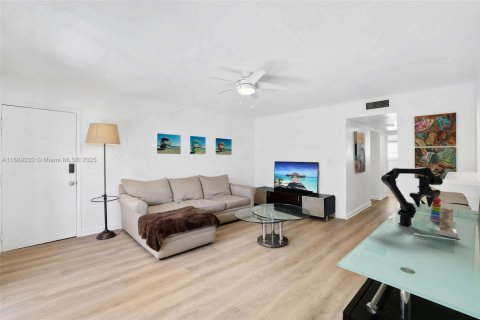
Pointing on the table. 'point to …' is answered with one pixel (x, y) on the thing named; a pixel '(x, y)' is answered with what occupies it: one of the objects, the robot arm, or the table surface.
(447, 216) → the maple pillar
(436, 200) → the stacking toy
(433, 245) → the table surface
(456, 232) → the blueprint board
